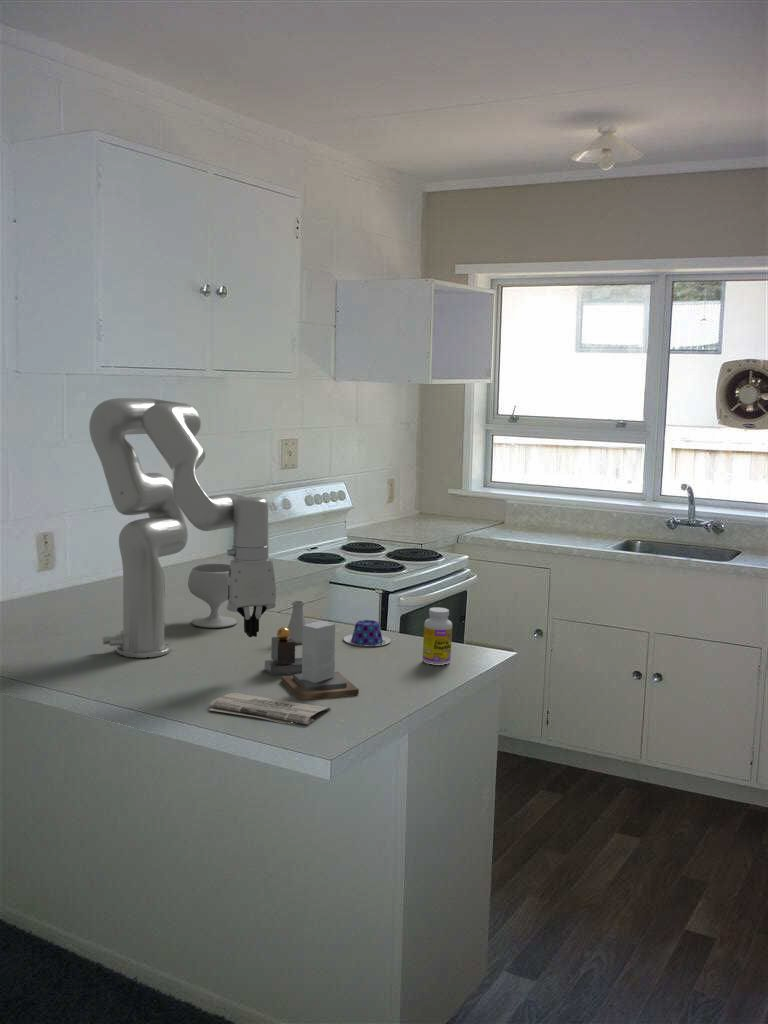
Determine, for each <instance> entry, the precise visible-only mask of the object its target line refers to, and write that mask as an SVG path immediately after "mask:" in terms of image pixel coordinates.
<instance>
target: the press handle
mask: <svg viewBox="0 0 768 1024" xmlns="http://www.w3.org/2000/svg"><path fill="white" fill-rule="evenodd" d="M287 628H288V627H284V626H283V627H280V628H278V630H277V631H276V636H271V649H270V651H271V652H270V653H271V654H270V656H271V657H270V658H271V659H270V660H273V661H274V662H275V663H276V664H277V665H278V664H291V663H295V658H296V643H295V641H294V640H292V639H291V638H290V631H289V629H287Z"/></svg>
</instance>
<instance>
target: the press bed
mask: <svg viewBox="0 0 768 1024" xmlns="http://www.w3.org/2000/svg"><path fill="white" fill-rule="evenodd" d="M281 683H283V685H284V686H285V687H286V688H287V689H288V690H289V691H290V692H291V693H292V694H293V696H295V697H296V698H297V699H298V700H299V701H307V700H316V699H317V700H318V699H326V698H327V699H328V698H329V697H330V698H337V697H336V696H341V697H346V696H345V695H351V696H355V695H354V694H359V693H360V689H359V688H358V687H357V686H355V685H354V684H353V683H352V682H350V680H349V679H347V677H345V676H343V674H341V673H340V672H339V671H334V677H333V678H330V679H327V680H324V681H321V682H318V683H312V682H309V681H306V680H303V679H302V673H295V674H292V675H282V676H281Z"/></svg>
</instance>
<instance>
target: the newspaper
mask: <svg viewBox="0 0 768 1024" xmlns="http://www.w3.org/2000/svg"><path fill="white" fill-rule="evenodd" d="M208 706H209V709H208V711H213V712H219V713H227V714H233V715H239V716H246V717H251V718H257V719H262V720H266V721H271V722H275V723H279V724H285V725H297V724H302V725H303V724H304V725H311V723H313V722H314V719H311V718H312V717H313V716H314V715H316V714H317V713H319V712H322V711H326V710H329V711H331V707H326V706H320V705H314V704H309V703H303V702H302V703H300V702H294V701H287V700H282V699H277V698H271V697H265V696H258V695H257V696H256V695H251V694H246V693H245V694H243V693H239V692H238V693H237V692H231V693H228V694H223V695H222V696H220V697H217V698H215V699H213V700H212V701H210V702H209V705H208ZM291 722H293V723H291ZM296 722H298V723H297V724H296ZM286 723H288V724H286Z"/></svg>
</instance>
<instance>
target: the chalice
mask: <svg viewBox="0 0 768 1024" xmlns="http://www.w3.org/2000/svg"><path fill="white" fill-rule="evenodd" d="M229 569H230V564H225V563H204V564H197V565H195V566H193V567H192V569H191V571H190V573H189V576H188V581H187V587H188V590H189V593H191V594H192V595H193V596H195V597H196V598H198V599H200V600H202V601H203V602H205V603H206V604H207V605H208V606H209V607H210V614H209V615H204V616H199V617H195V618H194V619H192V620H191V621H190V622H191V624H192V625H193V626H196V627H199V628H208V629H216V628H218V629H219V628H227V627H228V628H229V627H232V626H235V625H236V624H238V620H237V619H236V618H234V617H230V616H227V615H226V616H225V615H220V614H219V608H220V607H221V605H222V604H223V603H224V602H226V601H228V597H227V589H228V576H229Z"/></svg>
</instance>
